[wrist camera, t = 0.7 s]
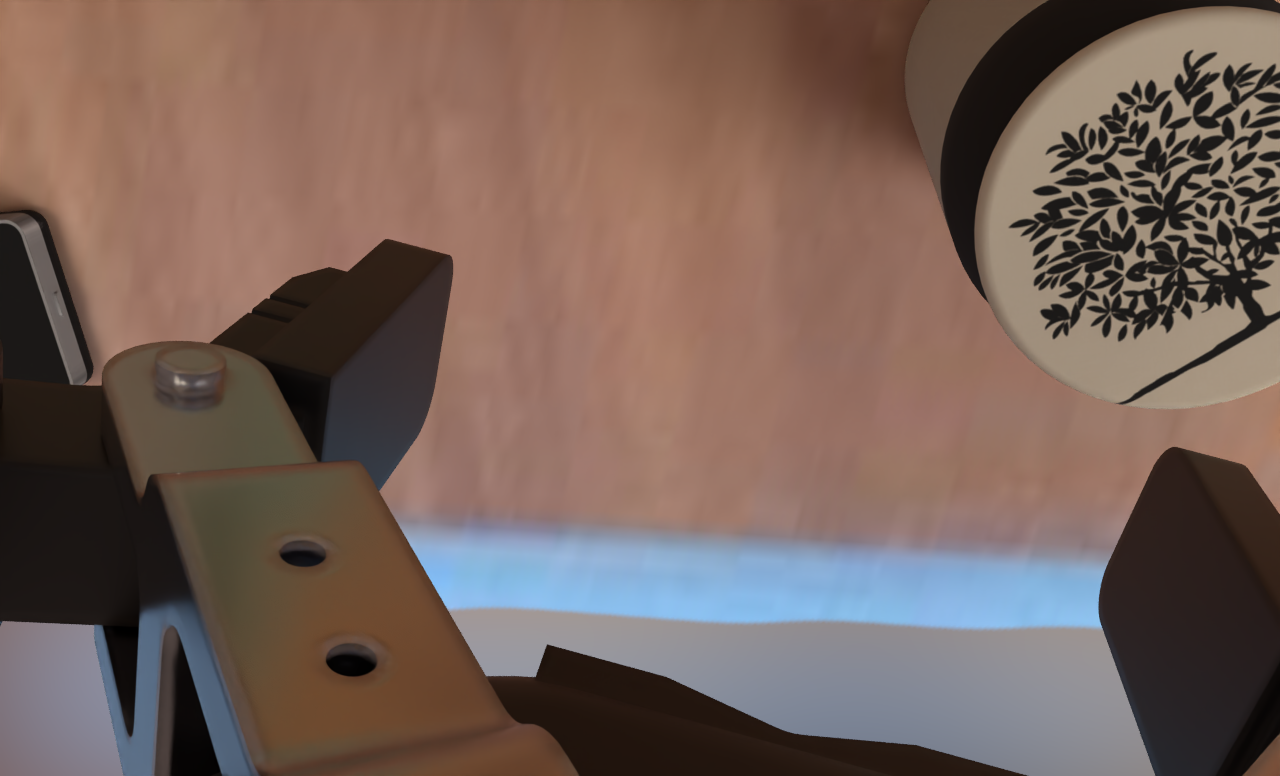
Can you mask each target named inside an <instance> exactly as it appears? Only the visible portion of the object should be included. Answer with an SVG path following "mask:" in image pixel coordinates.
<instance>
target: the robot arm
mask: <svg viewBox="0 0 1280 776" xmlns="http://www.w3.org/2000/svg"><path fill="white" fill-rule="evenodd" d="M452 277H453V260H452V257H451V256H450V255H447V254H443V253H439V252H436V251H432V250H428V249H424V248H420V247H417V246H413V245H409V244H405V243H401V242H397V241H394V240H390V239H385V240H384V241H382V242H381V243H380V244H379V245H378V246H377V247H375V248H374V249H373V250H372V251H371V252H370V253H369V254H367V255H366V256H365V257H364V258H363V259H362V260H360V261H359V262H358V263H357V264H356V265H355V266H354V267H352V268H351V269H350V270H349V271H348V272H346V271H342V270H338V269H335V268H331V267H328V268H325V269H321V270H317V271H314V272H310V273H307V274H303V275H299V276H296V277H292V278H291V279H290V280H289V281H287V282H286V283H285V284H283V285H282V286H281V287H280V288H278V289H277V290H276V291H275V292H273V293H272V294H271V295H270V299H267V298H266V299H265V300H263V301H262V302H261V303H260V304H258V305H257V306H256V307H254V308H253V310H252V313H247V314H246V315H244V316H243V317H242V318H241V319H239V320H238V321H237V322H236V323H234V324H233V325H232V326H230V327H229V328H228V329H227V330H225V331H224V332H223V333H222V334H220V335H219V336H218V337H217V338H215V339H214V340H213V341H212V342H210V343H203V342H192V341H167V342H156V343H149V344H144V345H140V346H136V347H133V348H130V349H127V350H124V351H123V352H121V353H119V354H117V355H115V356H114V357H113V358H111V359H110V360H109V361H108V362H107V363H106V365H105V366H104V369H103V372H102V386H86V385H71V384H60V383H50V382H39V381H29V380H18V379H8V378H3V347H2V342H1V340H0V625H1V623H2V621H15V622H37V623H60V624H82V625H94V638H95V646H96V650H97V655H98V659H99V664H100V669H101V673H102V678H103V683H104V687H105V692H106V696H107V701H108V706H109V710H110V715H111V719H112V724H113V729H114V733H115V738H116V742H117V747H118V752H119V757H120V761H121V766H122V770H123V775H124V776H1027V775H1023V774H1019V773H1015V772H1012V771H1008V770H1004V769H1001V768H997V767H993V766H990V765H986V764H983V763H979V762H975V761H972V760H968V759H964V758H961V757H957V756H954V755H950V754H946V753H943V752H939V751H935V750H931V749H928V748H924V747H921V746H917V745H907V744H897V743H886V742H875V741H864V740H853V739H841V738H830V737H819V736H808V735H799V734H794V733H790V732H786V731H783V730H781V729H778V728H776V727H774V726H772V725H769V724H767V723H765V722H763V721H761V720H758V719H756V718H754V717H751V716H750V715H748V714H745V713H743V712H741V711H739V710H736V709H735V708H733V707H730V706H728V705H726V704H724V703H722V702H719V701H717V700H715V699H713V698H711V697H708V696H706V695H704V694H702V693H700V692H698V691H695V690H693V689H691V688H689V687H687V686H685V685H682V684H680V683H678V682H676V681H674V680H672V679H670V678H667V677H664V676H661V675H657V674H653V673H650V672H645V671H642V670H639V669H635V668H631V667H627V666H624V665H620V664H617V663H613V662H610V661H605V660H602V659H598V658H595V657H591V656H587V655H583V654H580V653H577V652H573V651H569V650H566V649H562V648H558V647H554V646H551V645H547V646H546V649H545V652H544V655H543V658H542V661H541V663H540V666H539V669H538V672H537V675H536V677H521V676H520V677H519V676H486V675H485V674H484V672H483V670H482V669H481V667H480V665H479V663H478V662H477V660H476V658H475V656H474V655H473V653H472V651H471V650H470V648H469V646H468V644H467V643H466V641H465V639H464V637H463V636H462V634H461V632H460V630H459V629H458V627H457V626H456V624H455V622H454V620H453V619H452V617H451V615H450V613H449V611H448V610H447V608H446V606H445V605H444V603H443V601H442V599H441V598H440V596H439V594H438V593H437V591H436V589H435V587H434V586H433V584H432V582H431V580H430V579H429V577H428V575H427V574H426V572H425V570H424V568H423V567H422V565H421V563H420V561H419V560H418V558H417V556H416V555H415V553H414V551H413V549H412V548H411V546H410V544H409V542H408V541H407V539H406V537H405V536H404V534H403V532H402V530H401V529H400V527H399V525H398V523H397V522H396V520H395V518H394V517H393V515H392V513H391V511H390V510H389V508H388V506H387V504H386V503H385V501H384V499H383V498H382V496H381V494H380V492H379V491H380V489H381V488H382V486H383V485H384V484H385V482H386V481H387V479H388V478H389V476H390V475H391V474H392V472H393V471H394V469H395V468H396V466H397V465H398V464H399V462H400V461H401V459H402V458H403V456H404V455H405V454H406V452H407V451H408V449H409V448H410V446H411V445H412V444H413V442H414V441H415V439H416V438H417V436H418V435H419V433H420V431H421V429H422V426H423V424H424V422H425V419H426V416H427V413H428V411H429V407H430V404H431V400H432V396H433V392H434V388H435V382H436V376H437V370H438V364H439V358H440V352H441V346H442V340H443V334H444V328H445V321H446V315H447V309H448V303H449V297H450V291H451V285H452ZM1099 618H1100V622H1101V625H1102V628H1103V631H1104V634H1105V637H1106V639H1107V642H1108V645H1109V648H1110V650H1111V653H1112V656H1113V659H1114V661H1115V664H1116V667H1117V670H1118V672H1119V675H1120V678H1121V681H1122V684H1123V686H1124V689H1125V692H1126V695H1127V698H1128V700H1129V703H1130V706H1131V709H1132V712H1133V714H1134V717H1135V720H1136V722H1137V726H1138V728H1139V731H1140V734H1141V737H1142V739H1143V742H1144V745H1145V748H1146V750H1147V753H1148V756H1149V759H1150V762H1151V764H1152V767H1153V770H1154V773H1155V776H1280V514H1279V513H1278V511H1277V510H1276V509H1275V507H1274V506H1273V504H1272V503H1271V501H1270V500H1269V498H1268V497H1267V495H1266V494H1265V493H1264V491H1263V490H1262V488H1261V487H1260V485H1259V484H1258V482H1257V481H1256V480H1255V478H1254V477H1253V475H1252V474H1251V472H1250V471H1249V469H1248V468H1247V467H1246V466H1244V465H1242V464H1239V463H1235V462H1232V461H1228V460H1224V459H1220V458H1216V457H1213V456H1209V455H1205V454H1201V453H1197V452H1193V451H1190V450H1186V449H1182V448H1178V447H1172V448H1169V449H1168V450H1166V451H1165V452H1164V453H1163V454H1162V455H1161V456H1160V457H1159V459H1158V460H1157V462H1156V463H1155V465H1154V467H1153V469H1152V471H1151V473H1150V475H1149V477H1148V479H1147V481H1146V484H1145V486H1144V488H1143V490H1142V492H1141V494H1140V496H1139V498H1138V501H1137V503H1136V505H1135V507H1134V509H1133V511H1132V513H1131V516H1130V518H1129V520H1128V522H1127V524H1126V526H1125V528H1124V531H1123V533H1122V535H1121V537H1120V539H1119V541H1118V543H1117V545H1116V548H1115V550H1114V552H1113V554H1112V556H1111V558H1110V560H1109V563H1108V565H1107V567H1106V570H1105V573H1104V576H1103V579H1102V583H1101V588H1100V594H1099Z"/></svg>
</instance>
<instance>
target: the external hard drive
mask: <svg viewBox="0 0 1280 776" xmlns="http://www.w3.org/2000/svg"><path fill="white" fill-rule="evenodd" d="M0 340H1V342H2V347H3V378H8V379H18V380H29V381H39V382H50V383H60V384H71V385H83V384H84V383H86V382H87V381H88V380H89V379H90V378H91V376H92V374H93V369H94V368H93V363H92V360H91V357H90V354H89V351H88V348H87V344H86V341H85V338H84V335H83V332H82V329H81V326H80V323H79V320H78V316H77V313H76V310H75V307H74V304H73V301H72V298H71V295H70V292H69V288H68V285H67V282H66V279H65V276H64V273H63V270H62V267H61V264H60V260H59V257H58V254H57V251H56V248H55V245H54V242H53V239H52V236H51V232H50V229H49V226H48V224H47V221H46V219H45V218H44V217H43V216H42V215H41V214H39V213H37V212H35V211H31V210H22V211H12V212H1V213H0Z"/></svg>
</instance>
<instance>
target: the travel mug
mask: <svg viewBox="0 0 1280 776" xmlns="http://www.w3.org/2000/svg"><path fill="white" fill-rule="evenodd" d="M905 93H906V100H907V105H908V110H909V113H910V116H911V119H912V123H913V125H914V128H915V131H916V134H917V137H918V140H919V143H920V146H921V149H922V152H923V155H924V158H925V160H926V163H927V166H928V169H929V172H930V175H931V178H932V181H933V184H934V187H935V190H936V193H937V195H938V198H939V201H940V204H941V207H942V210H943V213H944V216H945V219H946V222H947V225H948V228H949V230H950V233H951V236H952V239H953V242H954V245H955V248H956V251H957V253H958V256H959V258H960V260H961V262H962V265H963V267H964V269H965V271H966V272H967V274H968V276H969V278H970V279H971V281H972V283H973V284H974V285H975V287H976V288H977V290H978V291H979V292H980V294H981V295H982V296H983V298H984V299H985V300H986V301H987V302H988V303H989V304H990V306H991V308H992V310H993V312H994V315H995V317H996V318H997V320H998V322H999V323H1000V325H1001V326H1002V328H1003V329H1004V331H1005V332H1006V334H1007V335H1008V336H1009V338H1010V339H1011V340H1012V341H1013V343H1014V344H1015V345H1016V346H1017V347H1018V348H1019V349H1020V350H1021V351H1022V352H1023V353H1024V354H1025V355H1026V356H1027V357H1028V358H1029V359H1030V360H1031V361H1032V362H1033V363H1034V364H1036V365H1037V366H1038V367H1039V368H1040V369H1042V370H1043V371H1044V372H1046V373H1047V374H1049V375H1050V376H1052V377H1053V378H1055V379H1056V380H1058V381H1059V382H1061V383H1063V384H1065V385H1067V386H1069V387H1071V388H1073V389H1075V390H1077V391H1079V392H1082V393H1084V394H1087V395H1089V396H1092V397H1094V398H1098V399H1101V400H1104V401H1108V402H1111V403H1116V404H1121V405H1126V406H1131V407H1139V408H1149V409H1181V408H1194V407H1201V406H1207V405H1213V404H1217V403H1222V402H1226V401H1230V400H1234V399H1237V398H1240V397H1243V396H1246V395H1250V394H1252V393H1255V392H1257V391H1260V390H1262V389H1265V388H1267V387H1270V386H1272V385H1274V384H1276V383H1278V382H1280V4H1279V3H1278V2H1276V1H1275V0H930V1H929V3H928V4H927V6H926V8H925V9H924V11H923V13H922V14H921V16H920V18H919V20H918V22H917V25H916V27H915V30H914V32H913V34H912V38H911V41H910V44H909V48H908V53H907V58H906V65H905Z"/></svg>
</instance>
